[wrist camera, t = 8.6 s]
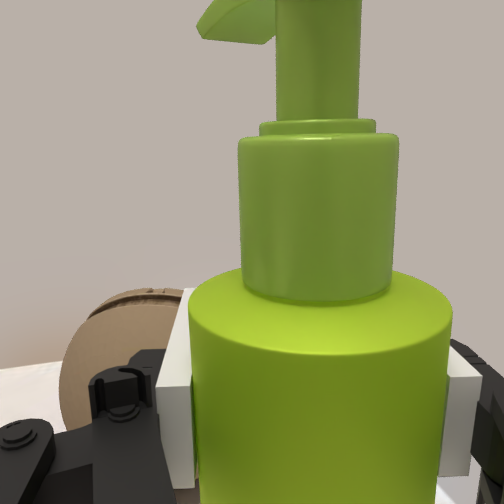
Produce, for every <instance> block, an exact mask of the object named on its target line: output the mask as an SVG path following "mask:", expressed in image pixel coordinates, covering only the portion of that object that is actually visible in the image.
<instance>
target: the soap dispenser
mask: <svg viewBox="0 0 504 504" xmlns="http://www.w3.org/2000/svg"><path fill="white" fill-rule="evenodd" d="M361 9H362V0H214V1H213V2H212V3H211V4H210V6H209V7H208V8H207V10H206V11H205V13H204V14H203V16H202V17H201V18H200V20H199V22H198V23H197V26H196V27H197V30H198V32H199V34H200V35H201V37H202V38H203V39H208V40H218V41H229V42H238V43H249V44H265V43H266V42H267V41H269V40H270V39H271V38H272V37H273V36H274V35H276V111H277V112H276V116H277V121H272V122H265V123H261V124H260V126H259V136H256V137H245V138H242V139H240V140H239V143H238V178H239V210H240V241H241V268H239V269H235V270H232V271H228V272H225V273H223V274H220V275H217V276H215V277H213V278H211V279H209V280H207V281H205V282H204V283H203V284H201V285H199V286H198V287H197V288H196V289H195V290H194V291H193V292H192V294H191V295H190V297H189V300H188V321H189V336H190V351H191V366H192V382H193V397H194V412H195V428H196V443H197V458H198V473H199V489H200V504H435V494H436V483H437V473H438V462H439V452H440V442H441V431H442V421H443V410H444V400H445V389H446V379H447V369H448V358H449V348H450V337H451V326H452V314H453V312H452V307H451V304H450V302H449V301H448V299H447V298H446V297H445V296H444V295H443V294H442V293H441V292H440V291H439V290H437V289H436V288H434V287H433V286H431V285H429V284H427V283H425V282H423V281H421V280H419V279H417V278H414V277H411V276H409V275H406V274H403V273H400V272H396V271H393V270H392V264H393V246H394V229H395V211H396V195H397V177H398V158H399V138H398V137H397V136H396V135H394V134H389V133H376V122H375V120H373V119H358V96H359V68H360V37H361Z"/></svg>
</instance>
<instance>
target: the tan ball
mask: <svg viewBox="0 0 504 504" xmlns="http://www.w3.org/2000/svg"><path fill="white" fill-rule="evenodd" d="M183 292H184V290H179V289H170V288H165V289H152V288H142V289H135V290H131V291H126V292H124V293H120V294H118V295H116V296H113V297H111V298H109V299H108V300H106V301H105V302H104V303H102V304H101V305H100V306H99V307H98V308H96V309H95V310H94V311H93V312H92V313H91V314H90V315H89V317H88V318H87V320H86V321H85V322H84V323H83V324H82V325H81V326H80V327H79V329H78V330H77V332H76V333H75V335H74V336H73V338H72V340H71V342H70V344H69V346H68V349H67V351H66V354H65V357H64V359H63V363H62V367H61V373H60V379H59V401H60V409H61V413H62V418H63V421H64V424H65V427H66V429H67V431H70V430H74V429H77V428H80V427H83V426H86V425H88V424H90V423H92V417H91V408H90V400H89V391H88V385H89V382H90V379H92V378H93V377H94V376H95V375H96V374H97V373H99V372H101V371H103V370H105V369H108V368H112V367H116V366H123V365H127V364H128V362H129V360H130V358H131V357H132V356H133V355H135V354H136V353H137V352H138V351H140V350H141V349H167V346H168V343H169V339H170V336H171V332H172V329H173V326H174V322H175V319H176V315H177V312H178V309H179V305H180V302H181V298H182V295H183ZM197 478H199V473H198V459H197V470H196V479H197Z"/></svg>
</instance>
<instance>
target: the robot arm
mask: <svg viewBox="0 0 504 504" xmlns="http://www.w3.org/2000/svg"><path fill="white" fill-rule="evenodd" d="M195 289H196V288H185V289H184V292H183V295H182V298H181V302H180V305H179V309H178V312H177V315H176V319H175V322H174V326H173V329H172V332H171V336H170V339H169V343H168V346H167V349H141V350H140V351H138V352H137V353H136V354H135V355H133V356H132V357H131V358H130V360H129V362H128V364H127V365H123V366H116V367H112V368H108V369H105V370H103V371H101V372H99V373H97V374H96V375H95V376H94V377H93V378H92V379H90V382H89V385H88V391H89V400H90V408H91V417H92V423H90V424H88V425H86V426H83V427H80V428H77V429H74V430H70V431H66V432H61V433H57V434H54V431H53V427H52V426H51V424H50V423H49V422H47V421H45V420H42V419H25V420H18V421H15V422H13V423H9V424H7V425H5V426H3V427H1V428H0V504H177V502H176V498H175V494H174V490H173V489H186V488H195V480H196V470H197V459H198V458H197V443H196V428H195V412H194V397H193V382H192V366H191V351H190V336H189V321H188V300H189V297H190V295H191V294H192V292H193V291H194V290H195ZM471 455H472V456H473V457H474V458H475V460H476V461H477V462H478V463H479V465H480V466H481V473H480V480H479V487H478V493H477V500H476V504H504V378H503V377H502V376H501V375H500V374H499V373H498V372H496V371H495V370H494V369H493V368H492V367H491V366H490V365H487V364H486V362H485V361H484V360H483V359H482V358H480V357H478V355H477V354H476V353H475V352H474V351H472V350H471V349H470V348H469V347H468V346H466V345H463V344H462V343H460V342H458V341H456V340H454V339H450V348H449V358H448V369H447V379H446V389H445V400H444V410H443V421H442V431H441V442H440V452H439V462H438V473H437V476H438V477H453V476H468V475H469V469H470V462H471Z"/></svg>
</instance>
